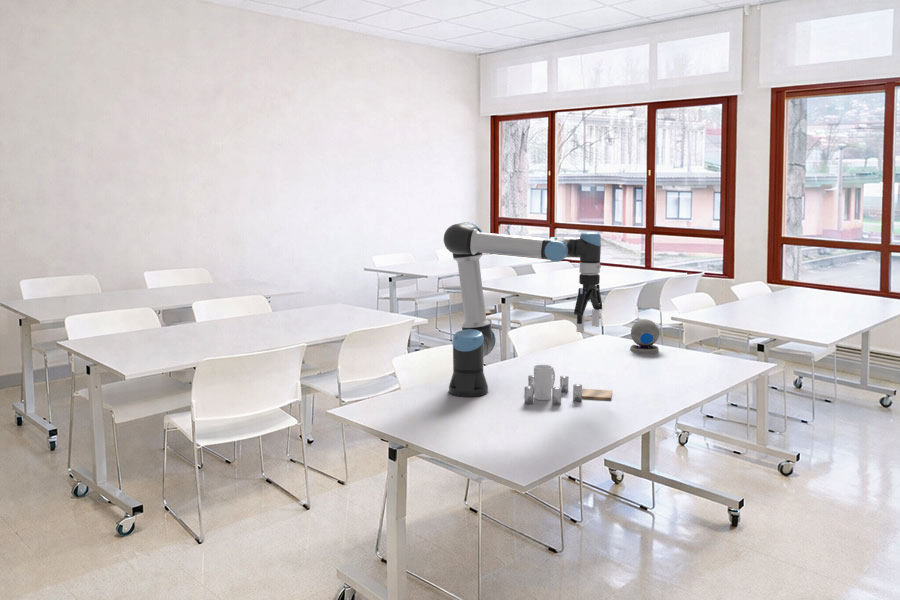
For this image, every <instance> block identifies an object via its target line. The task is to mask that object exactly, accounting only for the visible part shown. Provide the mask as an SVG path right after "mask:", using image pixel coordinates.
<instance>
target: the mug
mask: <svg viewBox="0 0 900 600" xmlns="http://www.w3.org/2000/svg"><path fill="white" fill-rule="evenodd" d="M533 375H534V392H533V399H535V400H537V401H549V400H552V388H553V387H555V381H556V373H555V369H554V367H553V366H552V365H549V364H536V365H534V366H533Z"/></svg>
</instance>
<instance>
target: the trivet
mask: <svg viewBox="0 0 900 600" xmlns="http://www.w3.org/2000/svg"><path fill="white" fill-rule="evenodd" d="M612 395H613V390H610V389H609V390H608V389H596V388H595V389H593V388H582V400H583V399H585V400H598V401H599V400H600V401H612Z"/></svg>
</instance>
